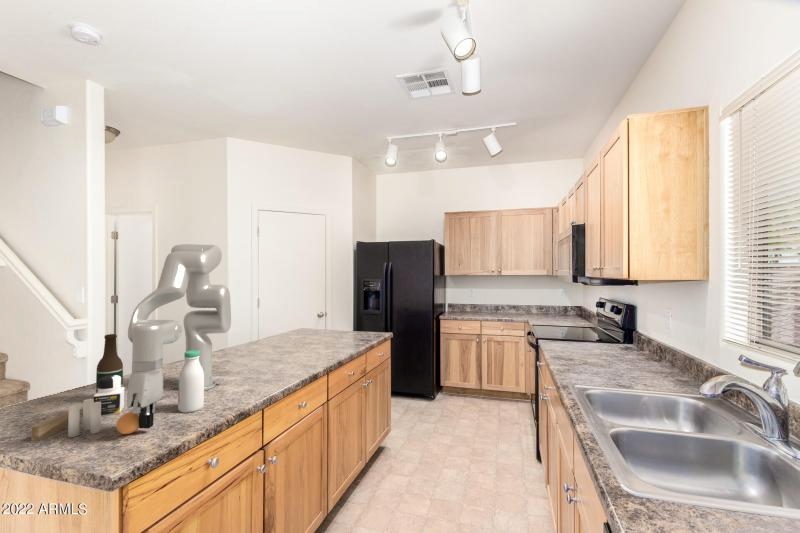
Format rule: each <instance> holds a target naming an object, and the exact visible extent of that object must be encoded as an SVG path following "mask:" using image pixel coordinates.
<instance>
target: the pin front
mask: <svg viewBox="0 0 800 533" xmlns="http://www.w3.org/2000/svg"><path fill="white" fill-rule="evenodd" d="M101 425H102V416H101V402H94V403H91V416H90V429H89V430H90V431H89V434H92V435H93V434H98V433H100V432H101V431H102V430H101V427H102V426H101Z"/></svg>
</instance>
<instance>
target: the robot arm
mask: <svg viewBox="0 0 800 533" xmlns="http://www.w3.org/2000/svg"><path fill="white" fill-rule="evenodd" d="M222 255H223V254H222V251H221V248H220V247H219V246H218V245H215V244H194V243H193V244H189V243H184V244H183V243H182V244H176V245H174V246H172V248H171V250H170V253H169V254H168V255H166V257H165V261H164V263H163V267H162V270H161V273H160V277H159V281H158V284H157V287H156V289H155V290H154V291H152V292H151V293H149V294H148V295H147V296H145V297H144V298H143V299H142V300H141V301H140V302H139V303H138V304H137V305H136V306H135V308H134V310H133V312H132V315H131V316H130V317H131V318H130V320H129V324H128V328H127V337H128V340H129V341H130V342H131V343H132V351H131V352H132V354H131V356H132V357H131V361H132V362H131V373H130V375H129V380H128V385H127V386H128V387H127V394H126V395H127V396H126V407H127V408H131V409H132V411H131V412H132V413H137V414H138V415H139V428H138V429H150V428H152V427H154V418H155V417H154V413H155V410H156V405H157V404H158V403H159V401H161V400H160V399H161V398H162V397H163V396H164V375H163V357H164V356H163V355H164V354H163V353H164V345H167V344H168V345H169V344H173V343H175V342H177V341H178V340H179V339H180V337H181V335H182V332H183V328H184V336H185V352H187V351H193V350H196V351H199V352H200V355H199V362H200V365H201V367H202V369H203V372H204V391H207V390H210V389H212V388H215V386H216V382H218V381H219V382H222V381H224V380H225V379H224V377H225V376H224V375H220V374H219V375H213V373H212V366H213V364H212V363H213V361H212V360H213V343H212V341H211V338H210V337H209V336H208V334H226V333H228V332H229V331H230V328H231V326H232V311H231V308H232V307H231V306H232V305H231V293H230V290H229V288H228V287H227V286H226V285H224V284H211V283H210V273H211V272H213V271H214V270H215V269H217V267H218V266H219V265H220V264H221V261H222V257H223V256H222ZM185 295H186V296H185ZM184 296H185V297H186V303H187V305H188V306H189V307H190V308H196V309H199V310H192V311H189V312H187V313H185V315H184V317H183V327H182V324H181V323H180V321H179V322H178V321H176V320H174V319H148V318H149V317H150V315H151V314H152V313H153V312H154V311H155V310H157V309H158V308H161V307H162V306H165V305H168V304H169V303H173V302H175V301H177V300H180V299H182V298H183V297H184ZM204 308H205V310H204ZM202 309H203V310H202ZM207 309H208V310H207ZM209 309H210V310H209ZM211 309H212V310H211ZM213 309H214V310H213Z"/></svg>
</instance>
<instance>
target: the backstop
mask: <svg viewBox="0 0 800 533" xmlns="http://www.w3.org/2000/svg"><path fill="white" fill-rule="evenodd" d="M68 415H69V410H67V411H65V412H63V413H61V414H57V415H55V416H53V417H50V418H48V419H46V420H43V421H42V422H39V423H37V424H35V425H33V426H31V441H33V442H39V441H41V440H43V439H45V438H48V437H50V436H53V434H56V433H58V432H60V431H62V430H64V429H68Z"/></svg>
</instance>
